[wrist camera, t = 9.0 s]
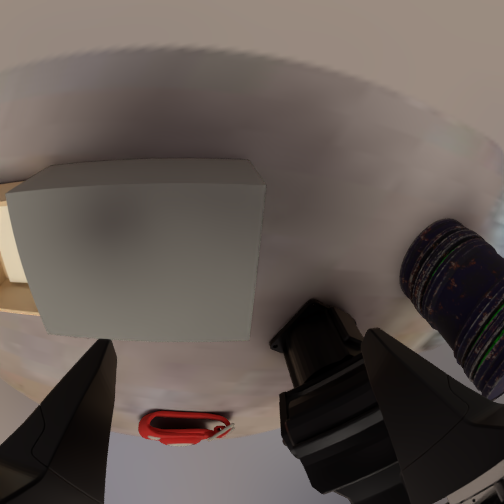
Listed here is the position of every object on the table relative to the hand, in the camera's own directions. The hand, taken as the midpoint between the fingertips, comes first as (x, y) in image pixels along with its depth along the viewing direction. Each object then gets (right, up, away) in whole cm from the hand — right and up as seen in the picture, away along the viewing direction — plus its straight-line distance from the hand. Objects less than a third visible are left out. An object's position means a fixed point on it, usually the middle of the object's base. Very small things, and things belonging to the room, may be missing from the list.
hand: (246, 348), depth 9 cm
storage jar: (+19, +2, +17) cm, 26 cm away
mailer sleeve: (-7, +5, +10) cm, 14 cm away
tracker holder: (-8, -20, +25) cm, 33 cm away
